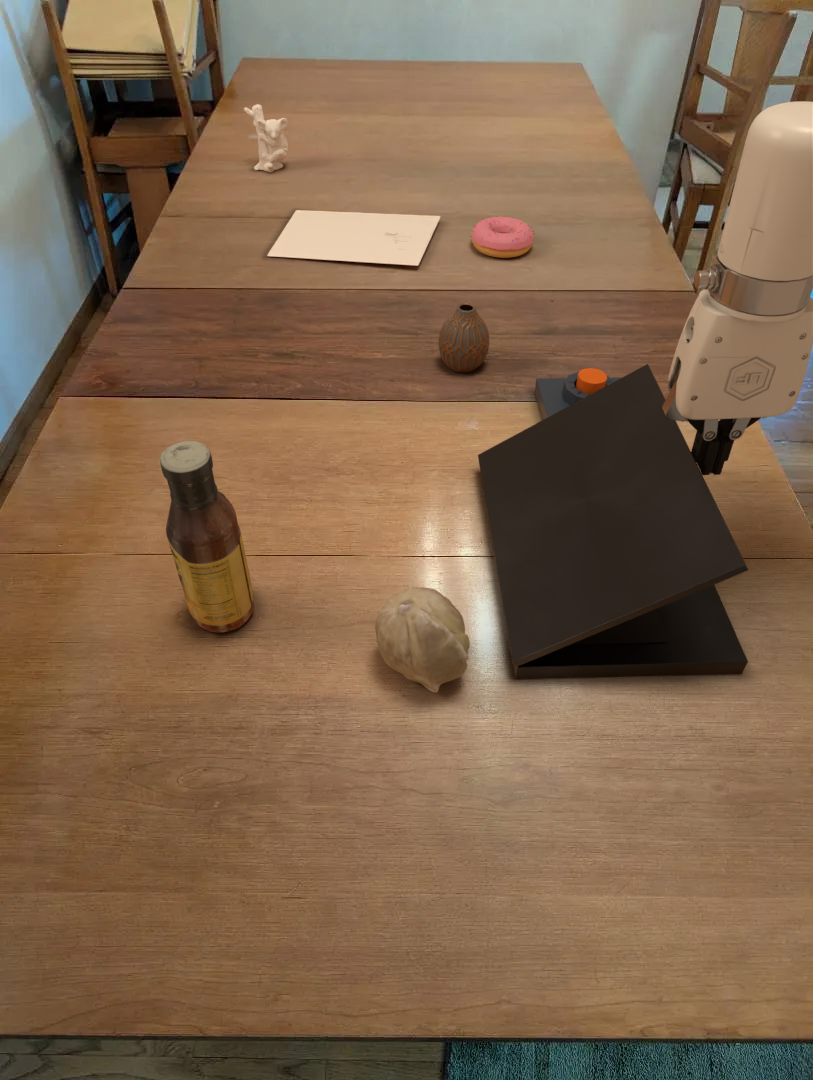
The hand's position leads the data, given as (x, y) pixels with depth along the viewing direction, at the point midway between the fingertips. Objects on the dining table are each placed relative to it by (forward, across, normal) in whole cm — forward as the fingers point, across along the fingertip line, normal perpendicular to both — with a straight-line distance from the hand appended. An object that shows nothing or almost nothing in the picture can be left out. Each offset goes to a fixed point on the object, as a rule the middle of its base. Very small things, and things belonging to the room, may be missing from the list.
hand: (706, 465), depth 75 cm
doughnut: (+12, -9, +77) cm, 79 cm away
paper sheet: (+11, -35, +81) cm, 89 cm away
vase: (+12, -19, +39) cm, 45 cm away
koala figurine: (+11, -52, +116) cm, 128 cm away
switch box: (+12, -4, +27) cm, 30 cm away
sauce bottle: (+11, -47, -6) cm, 49 cm away
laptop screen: (+4, -10, 0) cm, 11 cm away
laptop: (+12, -9, 0) cm, 15 cm away
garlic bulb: (+12, -28, -13) cm, 33 cm away
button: (+9, -4, +27) cm, 29 cm away
